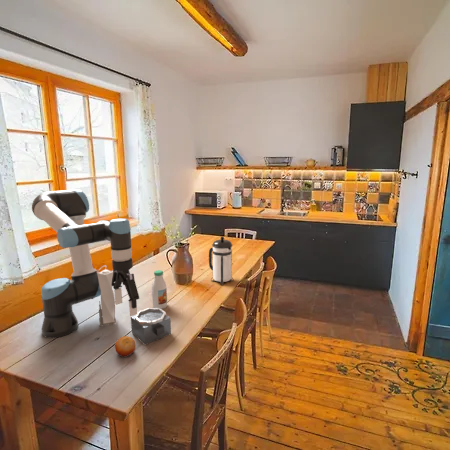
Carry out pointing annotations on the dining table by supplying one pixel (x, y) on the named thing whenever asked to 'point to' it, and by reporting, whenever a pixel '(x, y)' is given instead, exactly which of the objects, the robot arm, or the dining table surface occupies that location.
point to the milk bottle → (159, 291)
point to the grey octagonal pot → (150, 324)
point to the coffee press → (221, 260)
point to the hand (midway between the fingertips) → (126, 309)
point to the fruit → (125, 346)
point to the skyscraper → (106, 298)
